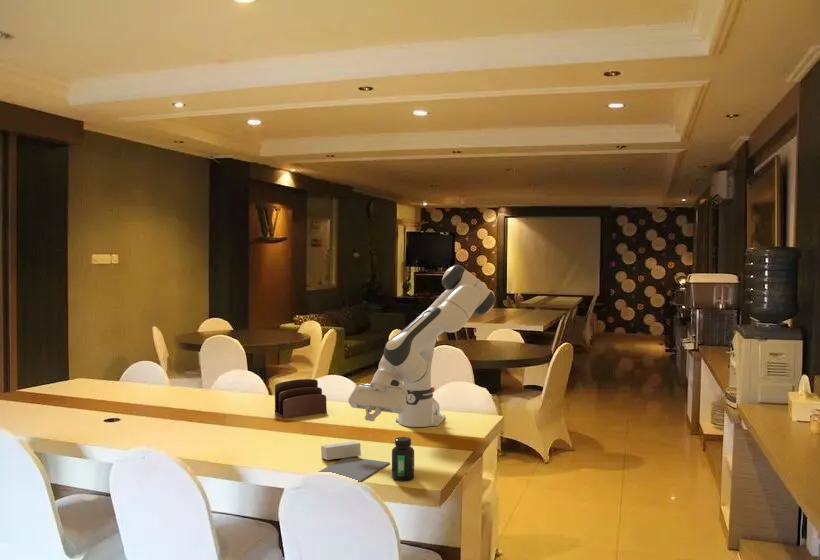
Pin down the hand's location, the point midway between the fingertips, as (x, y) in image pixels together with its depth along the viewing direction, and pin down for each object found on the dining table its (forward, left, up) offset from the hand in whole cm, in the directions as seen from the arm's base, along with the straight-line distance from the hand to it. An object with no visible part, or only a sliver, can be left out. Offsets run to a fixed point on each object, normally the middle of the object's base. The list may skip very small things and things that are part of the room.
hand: (369, 419), depth 233 cm
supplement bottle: (+15, +20, -13) cm, 28 cm away
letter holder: (-45, -57, -13) cm, 74 cm away
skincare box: (0, -4, -10) cm, 11 cm away
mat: (+14, +2, -13) cm, 19 cm away
